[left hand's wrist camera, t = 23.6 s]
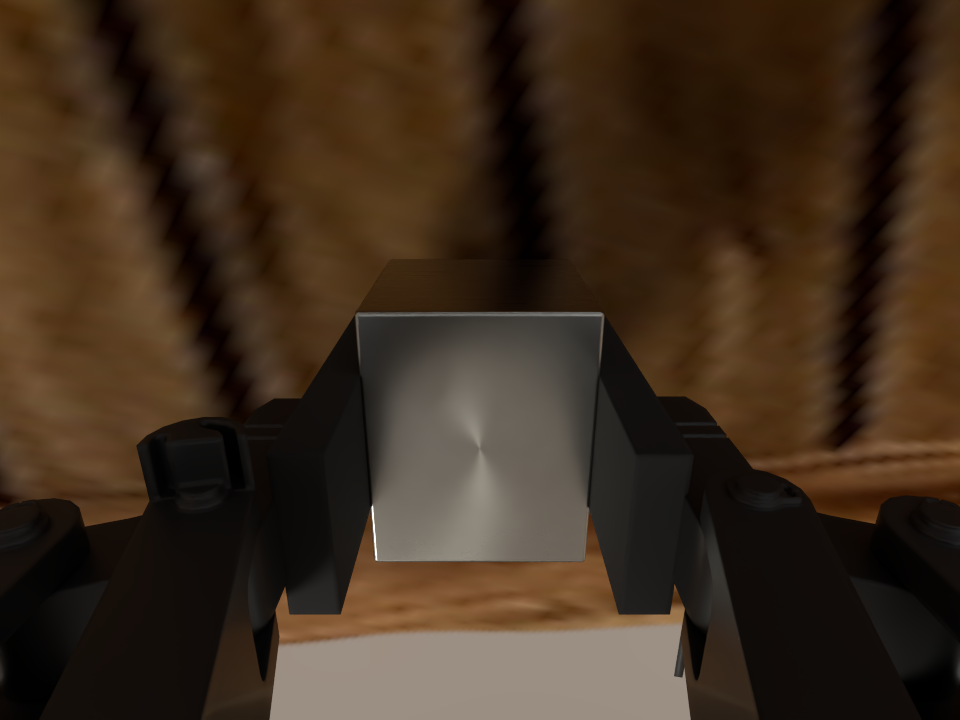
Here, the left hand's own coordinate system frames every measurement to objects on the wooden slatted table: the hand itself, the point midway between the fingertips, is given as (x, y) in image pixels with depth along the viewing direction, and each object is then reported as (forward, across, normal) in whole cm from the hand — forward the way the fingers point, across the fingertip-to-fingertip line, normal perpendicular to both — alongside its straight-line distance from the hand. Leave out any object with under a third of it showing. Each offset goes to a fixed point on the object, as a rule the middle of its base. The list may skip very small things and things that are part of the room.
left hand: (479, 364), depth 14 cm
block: (0, 0, 0) cm, 0 cm away
